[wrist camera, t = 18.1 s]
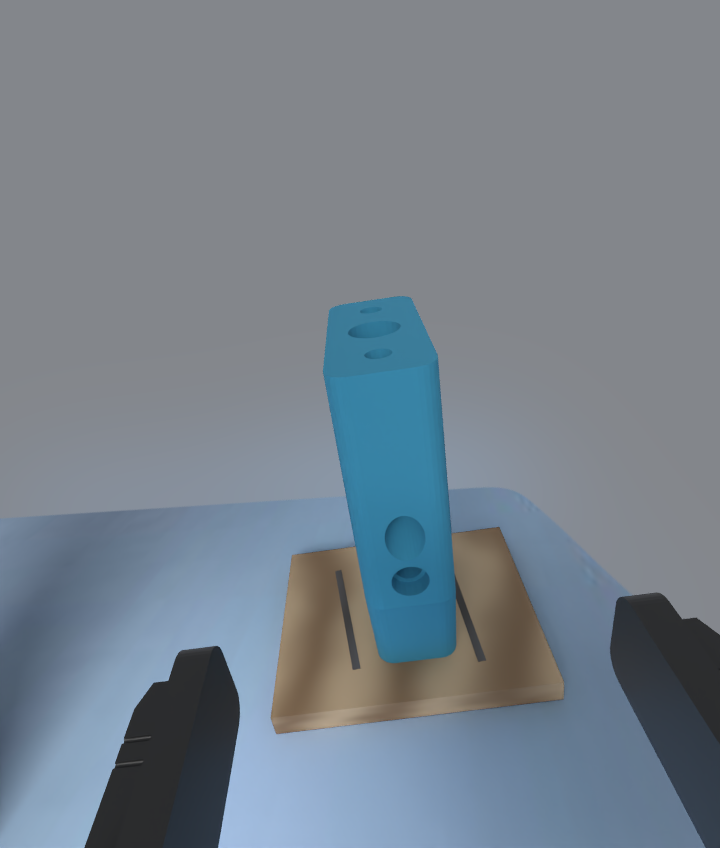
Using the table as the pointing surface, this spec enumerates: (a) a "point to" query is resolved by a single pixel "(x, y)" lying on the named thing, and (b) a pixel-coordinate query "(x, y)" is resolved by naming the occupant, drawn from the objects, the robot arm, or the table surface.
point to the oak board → (415, 680)
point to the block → (394, 472)
